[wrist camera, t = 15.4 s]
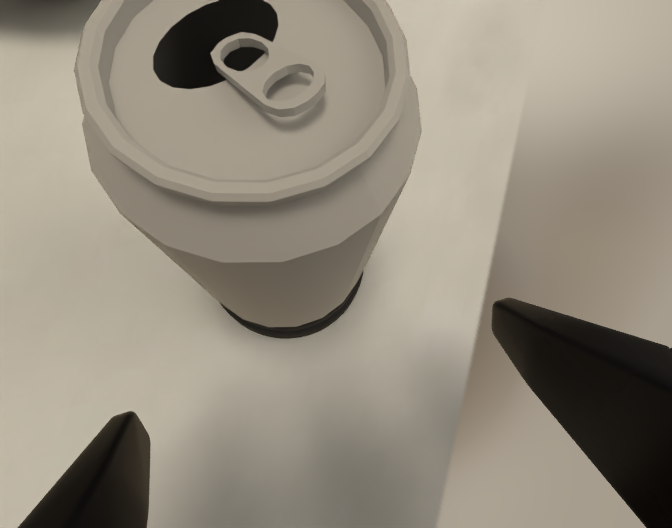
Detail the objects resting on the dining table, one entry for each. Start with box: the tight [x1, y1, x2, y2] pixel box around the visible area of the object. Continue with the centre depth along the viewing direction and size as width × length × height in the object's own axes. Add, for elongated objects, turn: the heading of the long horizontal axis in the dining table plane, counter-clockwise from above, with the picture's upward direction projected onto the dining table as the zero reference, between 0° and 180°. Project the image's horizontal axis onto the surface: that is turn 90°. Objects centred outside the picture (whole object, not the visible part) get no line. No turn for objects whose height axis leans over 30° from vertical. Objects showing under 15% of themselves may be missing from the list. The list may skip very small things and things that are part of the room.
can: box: [74, 0, 421, 327], centre depth 13 cm, size 8×8×12 cm
